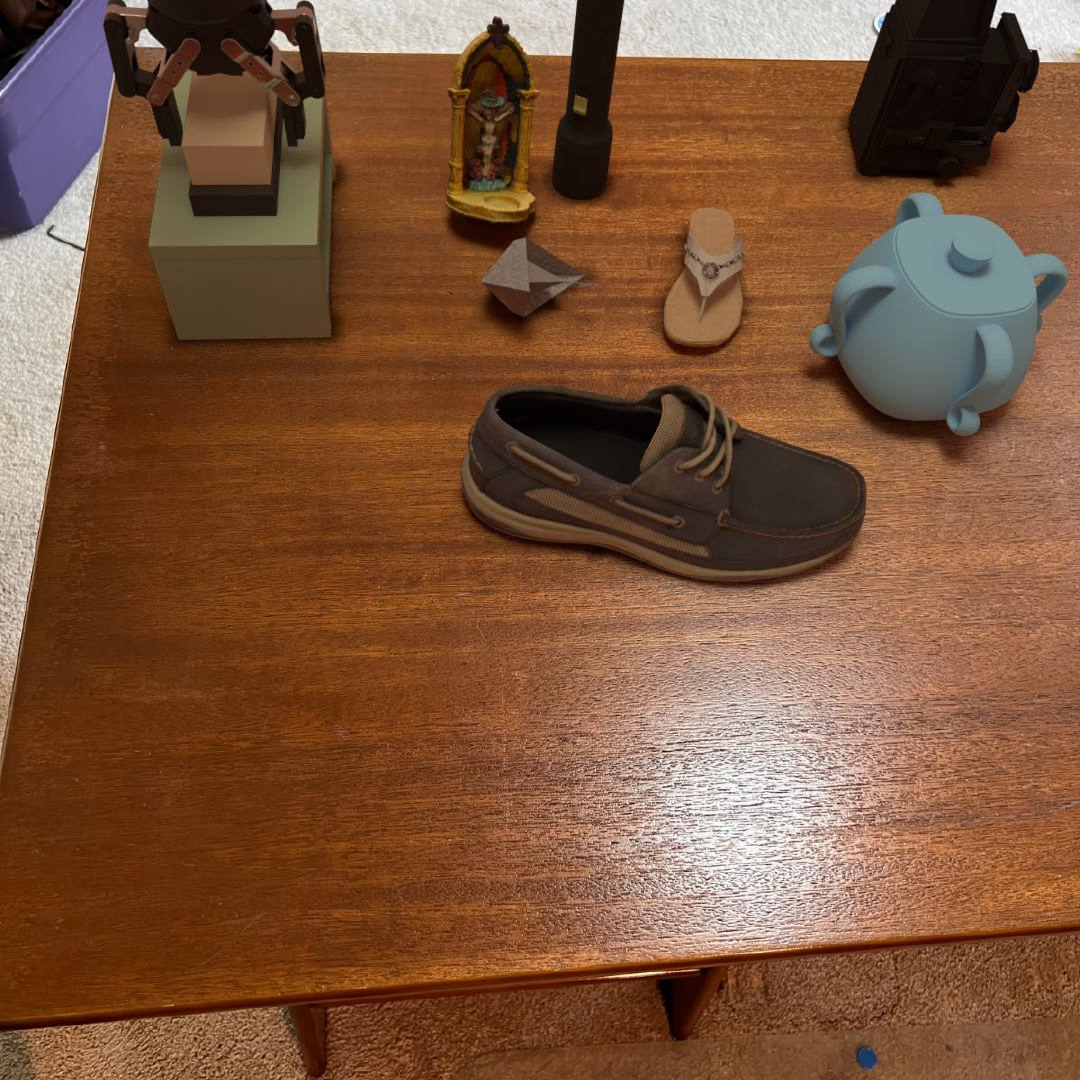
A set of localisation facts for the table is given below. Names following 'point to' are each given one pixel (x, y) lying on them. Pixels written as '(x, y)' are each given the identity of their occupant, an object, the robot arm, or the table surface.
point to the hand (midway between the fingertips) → (236, 139)
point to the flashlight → (588, 102)
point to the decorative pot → (939, 316)
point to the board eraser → (232, 146)
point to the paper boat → (529, 277)
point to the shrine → (491, 129)
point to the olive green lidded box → (249, 245)
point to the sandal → (707, 283)
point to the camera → (940, 86)
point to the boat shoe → (658, 482)
